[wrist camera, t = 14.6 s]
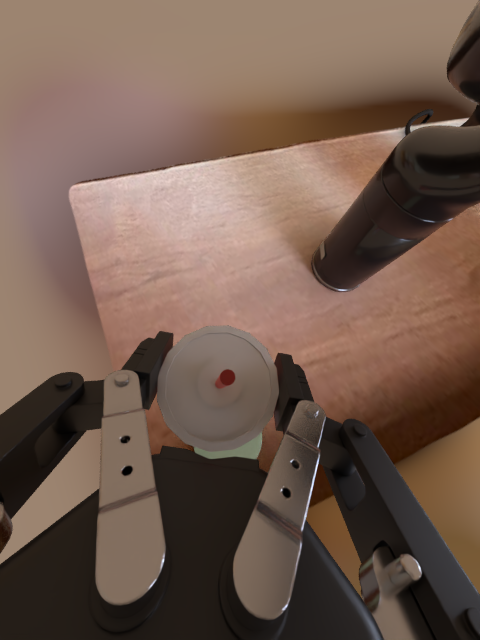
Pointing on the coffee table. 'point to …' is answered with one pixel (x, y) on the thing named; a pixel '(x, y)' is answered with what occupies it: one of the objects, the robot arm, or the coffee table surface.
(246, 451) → the coaster
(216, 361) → the beverage cup
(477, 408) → the coffee table surface
